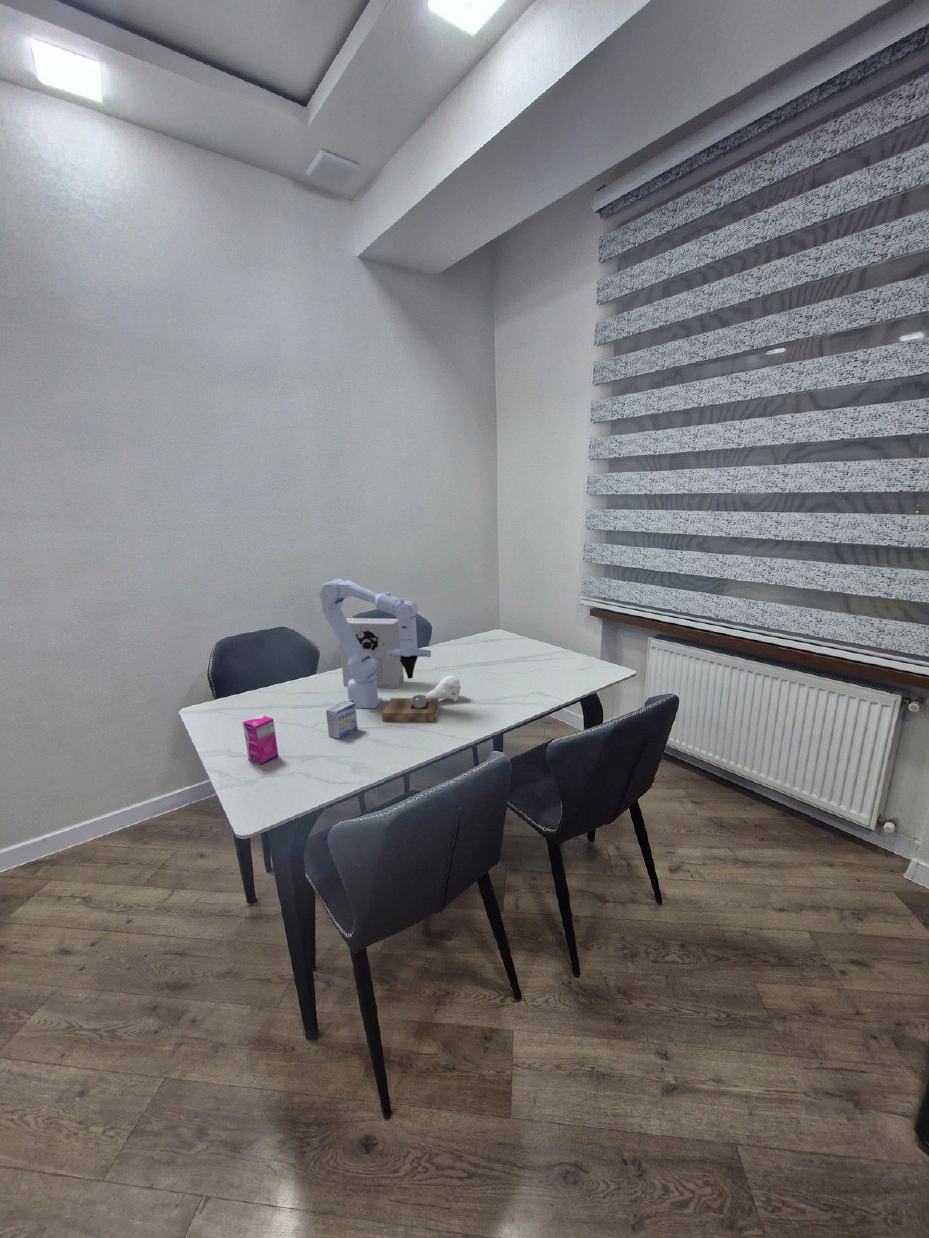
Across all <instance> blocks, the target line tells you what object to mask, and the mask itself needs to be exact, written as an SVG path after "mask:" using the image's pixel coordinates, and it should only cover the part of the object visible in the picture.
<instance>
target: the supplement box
mask: <svg viewBox="0 0 929 1238" xmlns="http://www.w3.org/2000/svg"><path fill="white" fill-rule="evenodd" d="M242 727H243V733H244V738H245V739H244V740H245V746H246V751H247V753H246V754H247V759H248V760H249V761H252V762H253V763H256V764H257V765H260V766H262V765H264V764H266V763H268V762H270V761H272V760H274V759H276V758H279V751H278V750H279V749H278V742H277V737H276V729H275V723H274V718H272V717H271V716H270V717H269V716H266V715H264V714H261V713H260V714H257V715H256V716H253V717H251V718H249V719H246V720H244V721H242Z"/></svg>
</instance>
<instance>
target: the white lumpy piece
mask: <svg viewBox="0 0 929 1238" xmlns="http://www.w3.org/2000/svg"><path fill="white" fill-rule="evenodd" d="M461 687H462V686H461V684H460V680H459V678H458V677H456V675H453V674H451V675H450V674H449V675H447V676H444V677H443V678H442V679H441V680H440V681H439V683H438V684H437V685H436V687H435V688H434V689H432V690H431V691H429V692H428V693H427V695H426V698H438V700H440V699H451V700H452V702H454V703H455V702H457V699H458V698H459V696H460V692H461Z"/></svg>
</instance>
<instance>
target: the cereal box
mask: <svg viewBox="0 0 929 1238" xmlns="http://www.w3.org/2000/svg"><path fill="white" fill-rule="evenodd" d="M345 618H346V617H345ZM346 620H347V622H348V624H349V625H350V627H351V629H352V631H353V632H354V634H355V636H356V638H357V639H358V641H359V643H360V645H361V646H362V648H363V649H364V650H365V651H367V652H369V653H370V655H371V656H372V657H373V658H374V659H376V661H377V662H378V670H377V671H376V672H375V673H376V682H377V689H378V688H379V689H383V688H384V689H399V688H400V686H401V685H402V684H403V683H404V682H405V677H404V676H405V675H404V666H403V665H402V663H401V662H400V659H401V657H387V651H388V650H397V649H400V642H399V626H398V625H399V624H398V619H397V618H373V617H372V618H371V617H370V618H367V617H366V618H363V617H360V618H359V617H357V618H356V617H348V618H346ZM339 647H340V658H341V659H340V660H341V668H342V679H343V680H342V683H343V687H348V683H349V681H350V679H353V678H352V676H351V671H350V668H349V666H348V661H349V657H348V655H347V653H346V651H345V650H344V648H343V646H342V645H341V643H340V642H339Z"/></svg>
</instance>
